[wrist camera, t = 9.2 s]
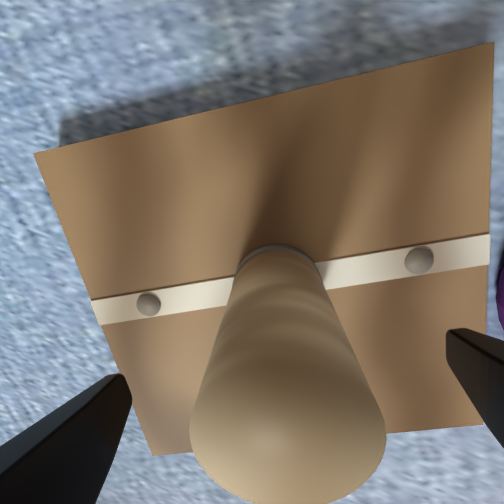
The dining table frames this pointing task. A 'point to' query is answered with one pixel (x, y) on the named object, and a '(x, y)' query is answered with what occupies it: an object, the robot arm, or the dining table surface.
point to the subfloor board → (294, 230)
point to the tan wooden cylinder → (285, 390)
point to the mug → (500, 298)
